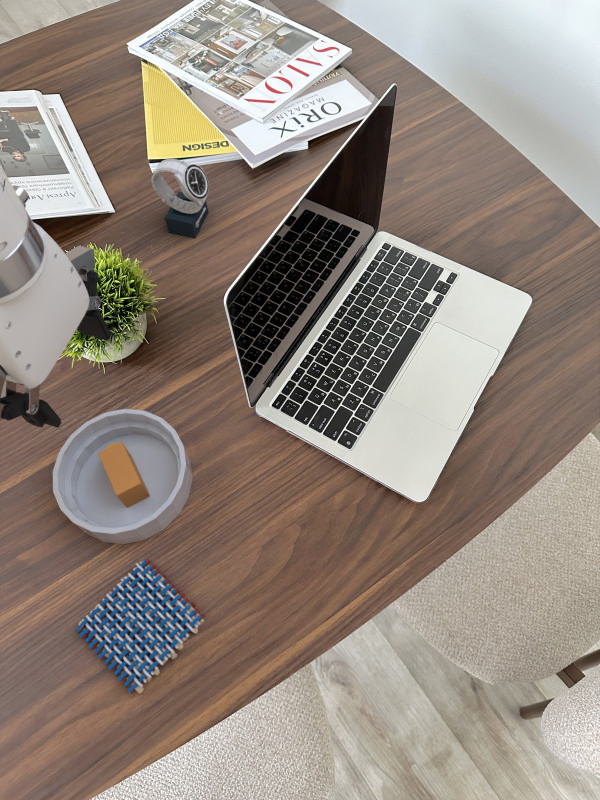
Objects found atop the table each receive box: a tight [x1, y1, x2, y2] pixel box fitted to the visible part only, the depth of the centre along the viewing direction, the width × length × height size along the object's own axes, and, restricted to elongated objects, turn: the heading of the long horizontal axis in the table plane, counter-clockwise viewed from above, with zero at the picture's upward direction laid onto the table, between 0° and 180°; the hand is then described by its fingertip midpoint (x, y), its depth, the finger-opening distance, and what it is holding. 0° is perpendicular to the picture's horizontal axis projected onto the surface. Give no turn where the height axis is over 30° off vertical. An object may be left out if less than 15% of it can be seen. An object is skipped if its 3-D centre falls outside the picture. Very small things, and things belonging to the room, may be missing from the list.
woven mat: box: [75, 558, 205, 695], centre depth 68 cm, size 10×11×2 cm
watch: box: [150, 158, 210, 239], centre depth 91 cm, size 6×8×11 cm
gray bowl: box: [52, 408, 193, 545], centre depth 74 cm, size 15×15×5 cm
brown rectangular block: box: [98, 442, 150, 508], centre depth 74 cm, size 3×8×4 cm, turn 29°
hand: (72, 375), depth 58 cm, fingers open, 9 cm apart
